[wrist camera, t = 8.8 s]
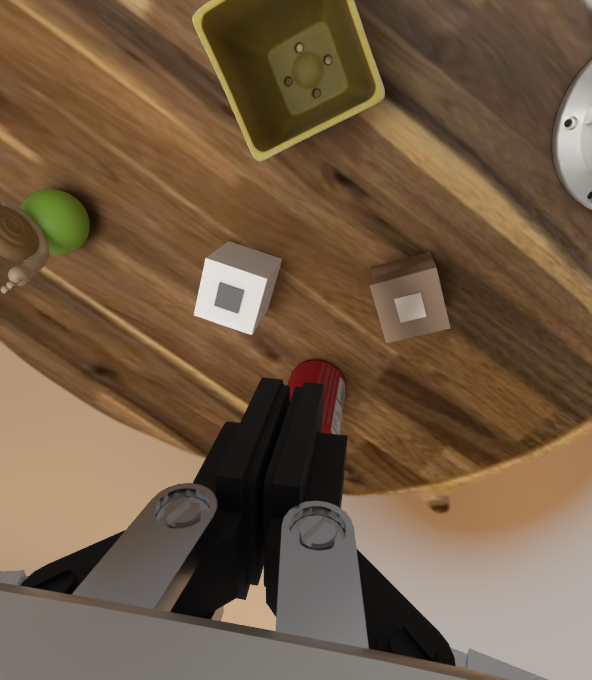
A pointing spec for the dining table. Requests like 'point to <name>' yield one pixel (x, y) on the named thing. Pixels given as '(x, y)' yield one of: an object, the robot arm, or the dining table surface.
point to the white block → (237, 286)
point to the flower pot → (289, 66)
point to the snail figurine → (40, 232)
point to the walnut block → (409, 298)
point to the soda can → (332, 390)
